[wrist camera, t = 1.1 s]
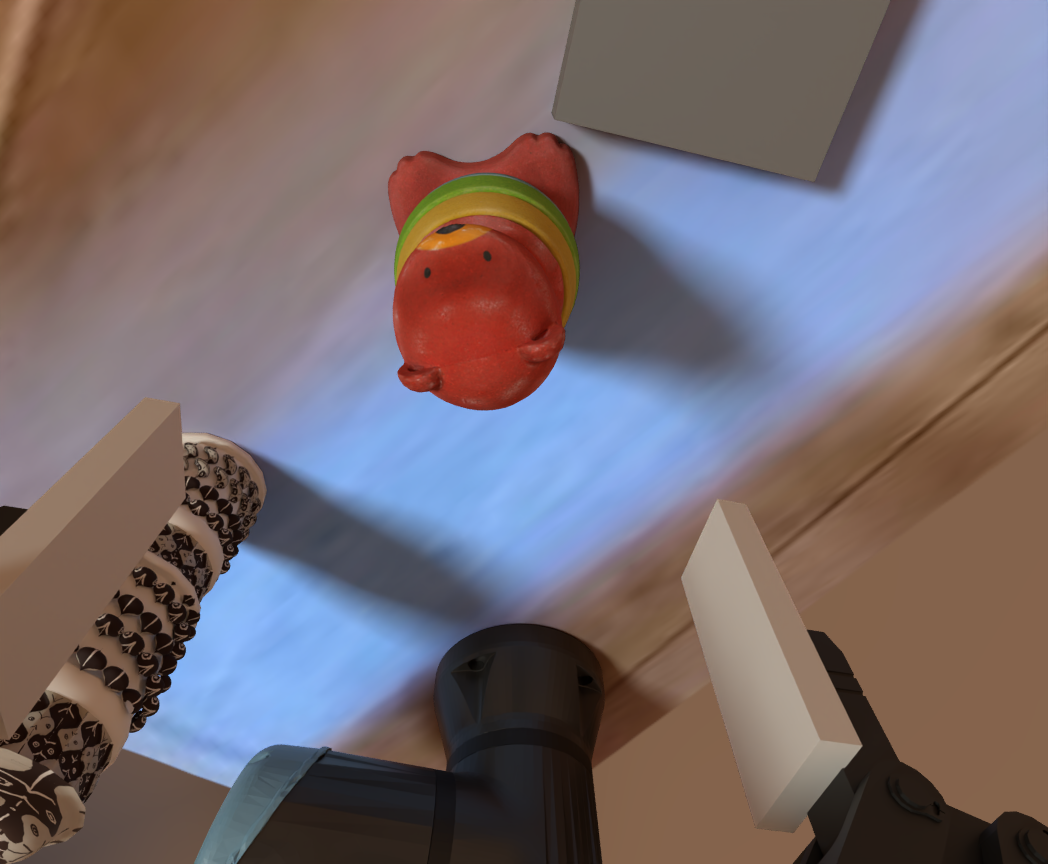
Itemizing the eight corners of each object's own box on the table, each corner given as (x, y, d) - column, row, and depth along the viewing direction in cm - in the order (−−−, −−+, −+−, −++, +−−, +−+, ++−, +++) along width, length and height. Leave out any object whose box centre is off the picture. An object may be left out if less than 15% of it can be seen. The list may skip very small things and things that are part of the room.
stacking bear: (571, 124, 36) (610, 184, 21) (590, 299, 41) (632, 451, 26) (381, 157, 37) (282, 238, 22) (422, 325, 42) (367, 486, 27)
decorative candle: (136, 416, 45) (-211, 754, 24) (273, 439, 46) (59, 783, 25) (146, 518, 50) (-137, 880, 28) (271, 538, 51) (89, 901, 29)
